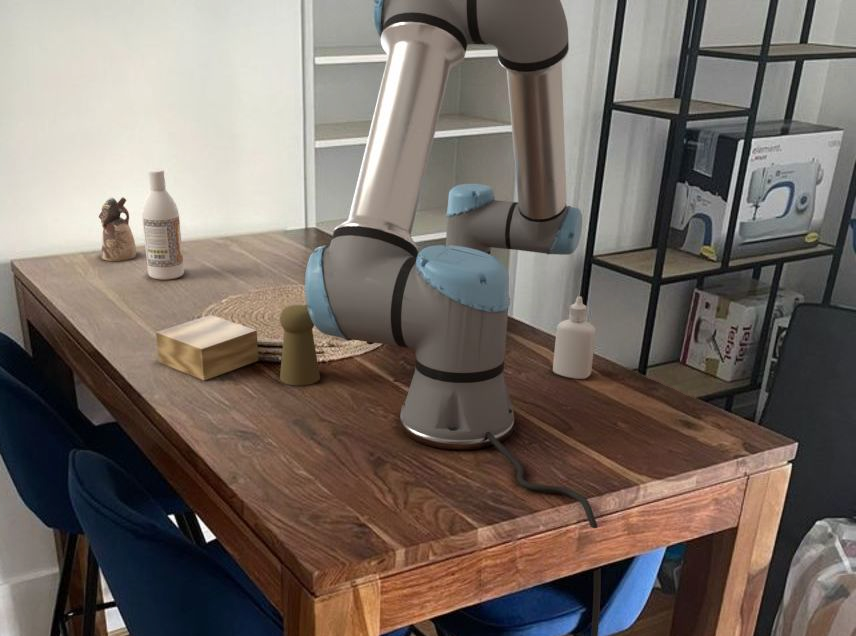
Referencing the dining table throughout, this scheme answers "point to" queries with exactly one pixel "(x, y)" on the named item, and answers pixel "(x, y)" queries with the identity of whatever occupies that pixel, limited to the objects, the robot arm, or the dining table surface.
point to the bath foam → (162, 230)
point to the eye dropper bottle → (574, 344)
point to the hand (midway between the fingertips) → (336, 324)
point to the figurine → (116, 232)
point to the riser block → (207, 347)
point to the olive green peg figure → (298, 347)
